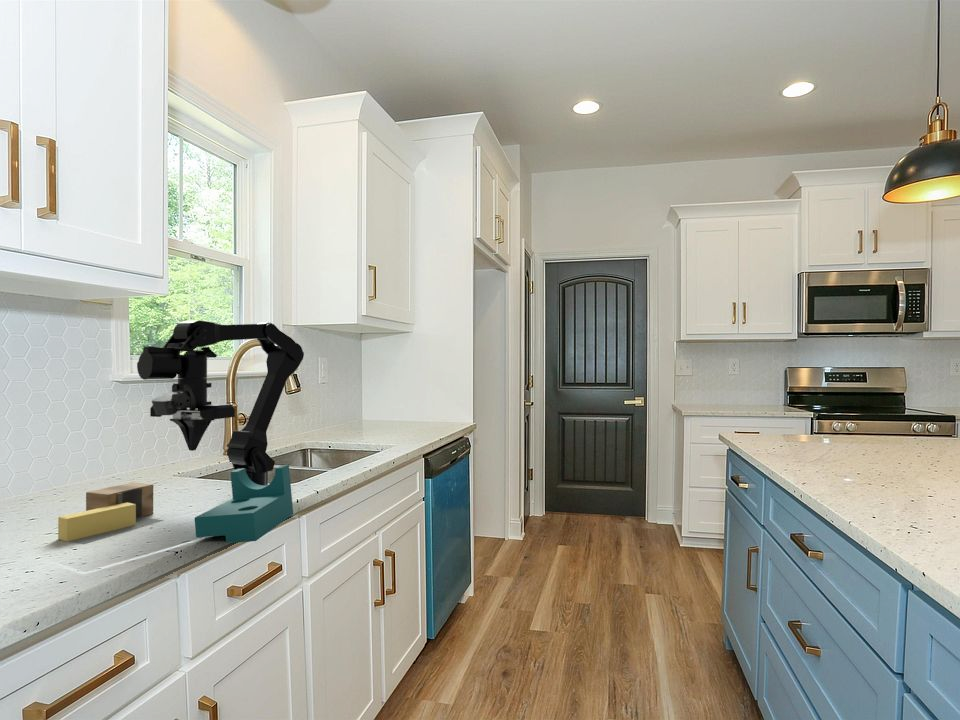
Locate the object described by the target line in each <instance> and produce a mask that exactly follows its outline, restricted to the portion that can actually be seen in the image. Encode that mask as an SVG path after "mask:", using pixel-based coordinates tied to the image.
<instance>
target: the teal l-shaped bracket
mask: <svg viewBox="0 0 960 720" xmlns="http://www.w3.org/2000/svg"><path fill="white" fill-rule="evenodd" d="M274 470H275V471H274V475H273V476H274V477H273V479H272V481H270V483H268V485H258V484H256V483H254V482H252V481H251V480H250V479H249V477H248V476H247V473H246V470H245V468H242V469H237V470H234V469H233V470H232V471H230V483H231V493H232V494H231V495H232V498H230V499H229V500H226V501H225V502H223V503H221V504H218V505H217V506H215V507H213V508H211V509H208V510H207V511H204V512H202V513H201V514H199V515H196V516H195V517H193V518H194V527H195V538H196V539H199V538H209V537H220V536H225V544H226V543H231V544H235V543H237V544H238V543H249V542H250V543H251V542H257V541H258V540H260V539H261V538H262V537H264V536H265V535H266V534H268V533H269V532H270V531H272V530H273V529H275V528H276V527H278V526H279V525H280V524H282V523H283V522H284V521H286V520H287V519H288V518H290V517H292V516H293V515H294V509H293V497H292V496H293V495H292V486H291V485H292V484H291V473H290V472H291V471H290V464H282V465H279V466H277V467H275V468H274Z"/></svg>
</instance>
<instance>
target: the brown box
mask: <svg viewBox="0 0 960 720" xmlns="http://www.w3.org/2000/svg"><path fill="white" fill-rule="evenodd" d="M126 502H128V503H132V504H136V518H139V517H146V516H149V515H150V516H151V515H154V484H152V483H144V482H143V483H141V482H135V481H134V482H128V483H123V484H117V485H112V486H108V487H105V488H99V489H95V490H91V491H86V492H85V511H88V510H93V509H97V508H102V507H107V506H112V505H117V504H122V503H126Z"/></svg>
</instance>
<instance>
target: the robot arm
mask: <svg viewBox="0 0 960 720" xmlns="http://www.w3.org/2000/svg"><path fill="white" fill-rule="evenodd" d="M172 332H173V333H172V335H171V336H170V337H169V338H168V340H167V341H166V343H165V344H164V345H163V346H162V347H159V346H154V345H153V346H150V345H149V346H148V345H143V347H142V351H143V352H141V354H140V355H139V357H138V361H137V363H136V369H137V373H138V376H139V377H140V379H142V380H146V381H147V380H173V379H175V378H176V377H177V383H176V382H175V383H172V384H173V385H172V386H171V391H169V392H166V393H164V394H161V395H160V396H158V397H155V398H153V399H152V400H151V403H152V405H151V406H150V411H149V413H150V415H149V416H150V418H151V417H156V418H159V417H162V416H172V418H169V421H170V422H173V423H175V424H176V425H177V426H178V427H179V429H180V431H181V433H182V436H183V437H184V441H185V443H186V446H187V448H188V451H197V448H198V447H199V444H200V442H201V441H202V438H203V436H204V434H205V432H206V431H207V430H208V427H209V426H210V424H211V423H212V421H215V420H219V419H220V420H221V419H228V418H235V417H236V408H235V407H234V405H233V404H232V403H229V404H228V403H215V404H212V401H210V400H209V401H208V388H212V382H208V358H209V359H210V358H217V356H218V355H217V354H216V353H215V352H214V351H213V350H212V349H211V347H209V346H211V345H215V344H218V343H221V342H225V341H239V340H240V341H241V340H257V341H258V343H259V345H260V347H261V349H262V351H263V352H264V353H265V354H266V355H267V357H266V370H267V374H266V376H265V377H264V381H263V383H262V385H261V388H260V391H259V393H258V396H257V398H256V400H255V402H254V405H253V407H252V409H251V413H250V415H249V416H248V420H247V422H246V424H245V426H244V427H243V428H242V429H241V430H233V432H232V433H231V435H230V440H229V442H228V444H226V447H227V451H226V456H227V457H228V460H229V461H230V463H231V465H232V467H233V471H234V470H237V469H242V468H245V470H246V473H247V476H248V477H249V479H250V480H251V481H252V482H254V483H256V484H258V485H269V481H268V479H269V475H268V474H269V472H272V471H273V470H274V469H275V468H274V467H275V463H276V461H275V460H274V459H273V458H272V457H271V456H270V455H269V454H268V453H267V448H268V436H267V431H268V428H269V426H270V423H271V421H272V418H273V416H274V414H275V411H276V408H277V406H278V404H279V401H280V398H281V396H282V393H283V391H284V388H285V386H286V384H287V381H288V379H289V378H290V377H291V376H292V375H293V374H294V373H295V372H296V371H297V370H298V368H299V366H300V365H301V363H302V362H303V360H304V355H305V352H304V351H303V348H302V346H301V345H300V344H299V343H297V342H296V341H295V340H294V339H293V338H292V337H290V336H289V335H287V334H286V333H284V332H283V331H282V330H280V329H279V328H278V327H277V326H276V325H275V324H274V323H272V322H258V323H249V324H248V323H245V324H243V323H242V324H221V323H217V322H213V321H206V320H186V321H185V320H184V321H179V322H178V323H177V324H176V325H175V327H174V328H173V331H172ZM197 348H200V349H198V350H197ZM181 352H184V354H181Z"/></svg>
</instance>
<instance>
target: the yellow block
mask: <svg viewBox="0 0 960 720" xmlns="http://www.w3.org/2000/svg"><path fill="white" fill-rule="evenodd" d="M57 519H58V520H57V523H58V524H57V525H58V526H57V531H58V533H57V535H58V536H57V537H58V538H57V539H58V540H59V541H61V540H64V541H63V542H67V541H71V540H75V539H79V538H83V537H87V536H91V535H95V534H100V533H104V532H108V531H112V530H116V529H120V528H124V527H128V526H132V525H136V504H132V503H128V502H126V503H122V504H117V505H112V506H107V507H102V508H97V509H93V510H88V511H86V510H84V511H79V512H75V513H74V512H73V513H68V514H65V515H60V516H58V518H57Z"/></svg>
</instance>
